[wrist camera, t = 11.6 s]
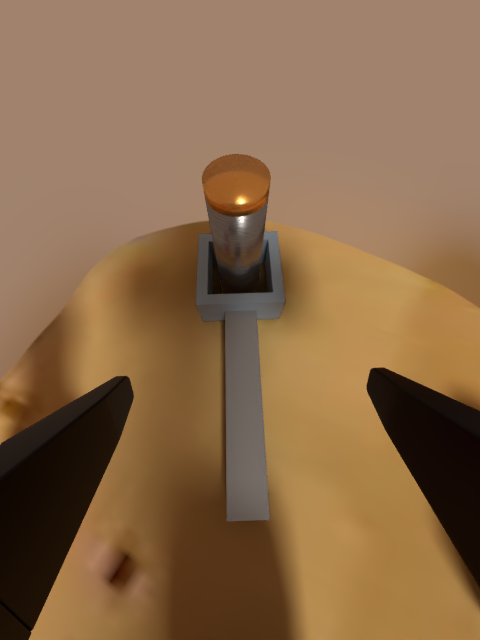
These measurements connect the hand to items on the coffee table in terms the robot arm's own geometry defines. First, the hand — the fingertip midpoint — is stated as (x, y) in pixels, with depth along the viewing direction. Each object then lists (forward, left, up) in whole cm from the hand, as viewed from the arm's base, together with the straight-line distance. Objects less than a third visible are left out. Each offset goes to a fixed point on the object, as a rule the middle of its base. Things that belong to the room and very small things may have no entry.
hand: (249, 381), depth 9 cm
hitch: (+2, +3, -14) cm, 14 cm away
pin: (+6, +10, -14) cm, 18 cm away
